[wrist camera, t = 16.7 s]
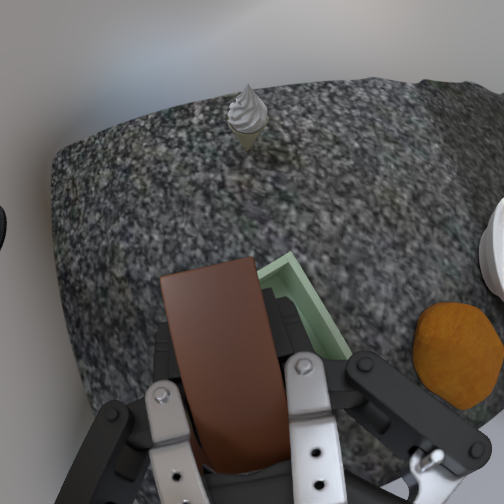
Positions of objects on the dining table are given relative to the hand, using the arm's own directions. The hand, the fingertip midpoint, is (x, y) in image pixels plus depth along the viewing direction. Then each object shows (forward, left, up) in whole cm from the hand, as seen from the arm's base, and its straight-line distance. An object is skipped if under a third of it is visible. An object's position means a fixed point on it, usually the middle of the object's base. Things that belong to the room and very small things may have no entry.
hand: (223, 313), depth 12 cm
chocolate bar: (-1, -2, -7) cm, 7 cm away
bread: (+23, -25, -26) cm, 43 cm away
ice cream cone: (+13, +19, -26) cm, 35 cm away
